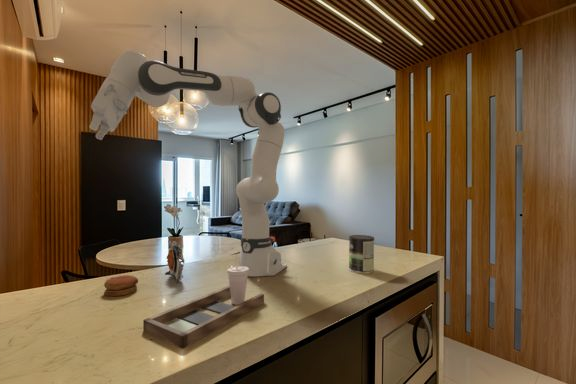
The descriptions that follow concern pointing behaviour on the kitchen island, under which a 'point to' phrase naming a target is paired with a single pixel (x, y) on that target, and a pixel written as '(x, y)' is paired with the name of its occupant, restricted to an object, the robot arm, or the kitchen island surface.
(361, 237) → the coffee can
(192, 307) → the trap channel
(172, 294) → the kitchen island surface
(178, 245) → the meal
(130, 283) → the burger
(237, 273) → the smoothie
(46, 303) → the kitchen island surface
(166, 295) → the kitchen island surface
